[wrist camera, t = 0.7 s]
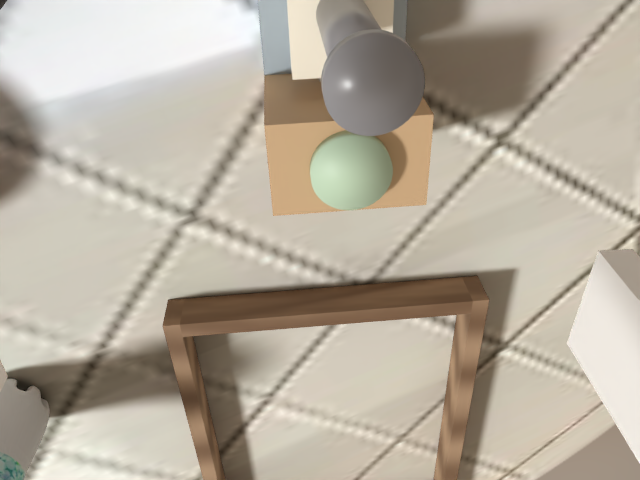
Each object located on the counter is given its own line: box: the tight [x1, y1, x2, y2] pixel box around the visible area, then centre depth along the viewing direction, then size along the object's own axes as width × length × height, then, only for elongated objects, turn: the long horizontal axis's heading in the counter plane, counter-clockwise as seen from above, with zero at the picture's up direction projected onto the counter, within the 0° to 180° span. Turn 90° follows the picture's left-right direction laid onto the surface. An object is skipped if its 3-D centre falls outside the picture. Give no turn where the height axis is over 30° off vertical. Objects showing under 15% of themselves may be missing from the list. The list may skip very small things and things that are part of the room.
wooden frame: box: [163, 276, 489, 480], centre depth 50 cm, size 28×23×3 cm
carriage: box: [287, 0, 425, 136], centre depth 24 cm, size 6×5×14 cm
